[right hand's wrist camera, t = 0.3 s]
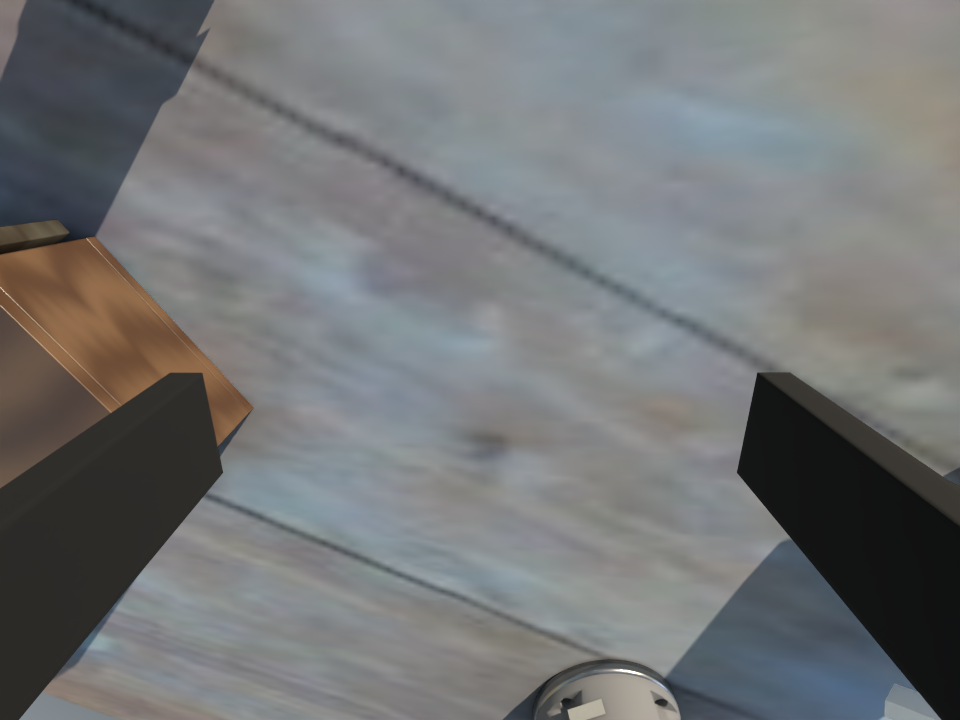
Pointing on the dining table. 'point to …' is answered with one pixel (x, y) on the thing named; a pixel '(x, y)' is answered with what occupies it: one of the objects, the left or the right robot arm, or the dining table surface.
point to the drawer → (31, 235)
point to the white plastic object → (907, 705)
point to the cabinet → (84, 350)
